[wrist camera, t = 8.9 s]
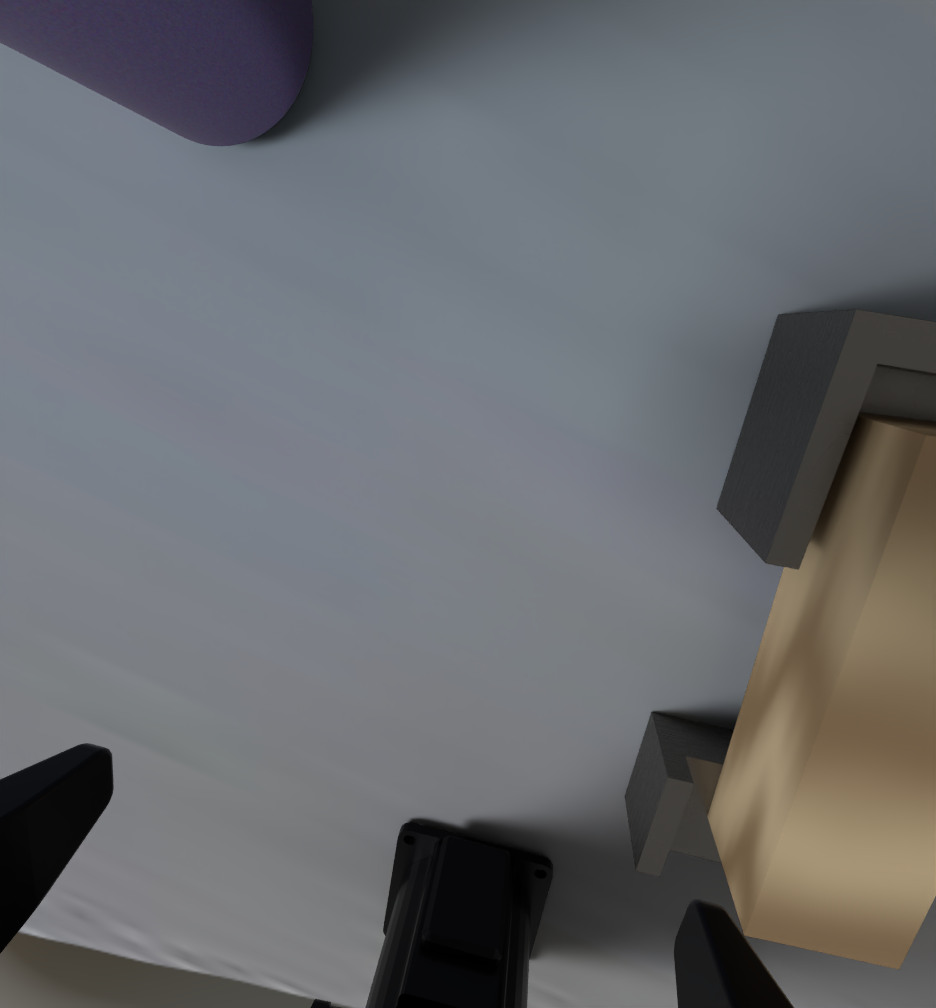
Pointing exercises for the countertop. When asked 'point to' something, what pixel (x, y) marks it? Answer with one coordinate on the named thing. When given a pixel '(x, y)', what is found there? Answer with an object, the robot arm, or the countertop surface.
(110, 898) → the countertop surface
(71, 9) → the beverage can
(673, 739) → the dark grey arch block
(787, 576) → the rail
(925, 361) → the bracket
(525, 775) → the countertop surface
